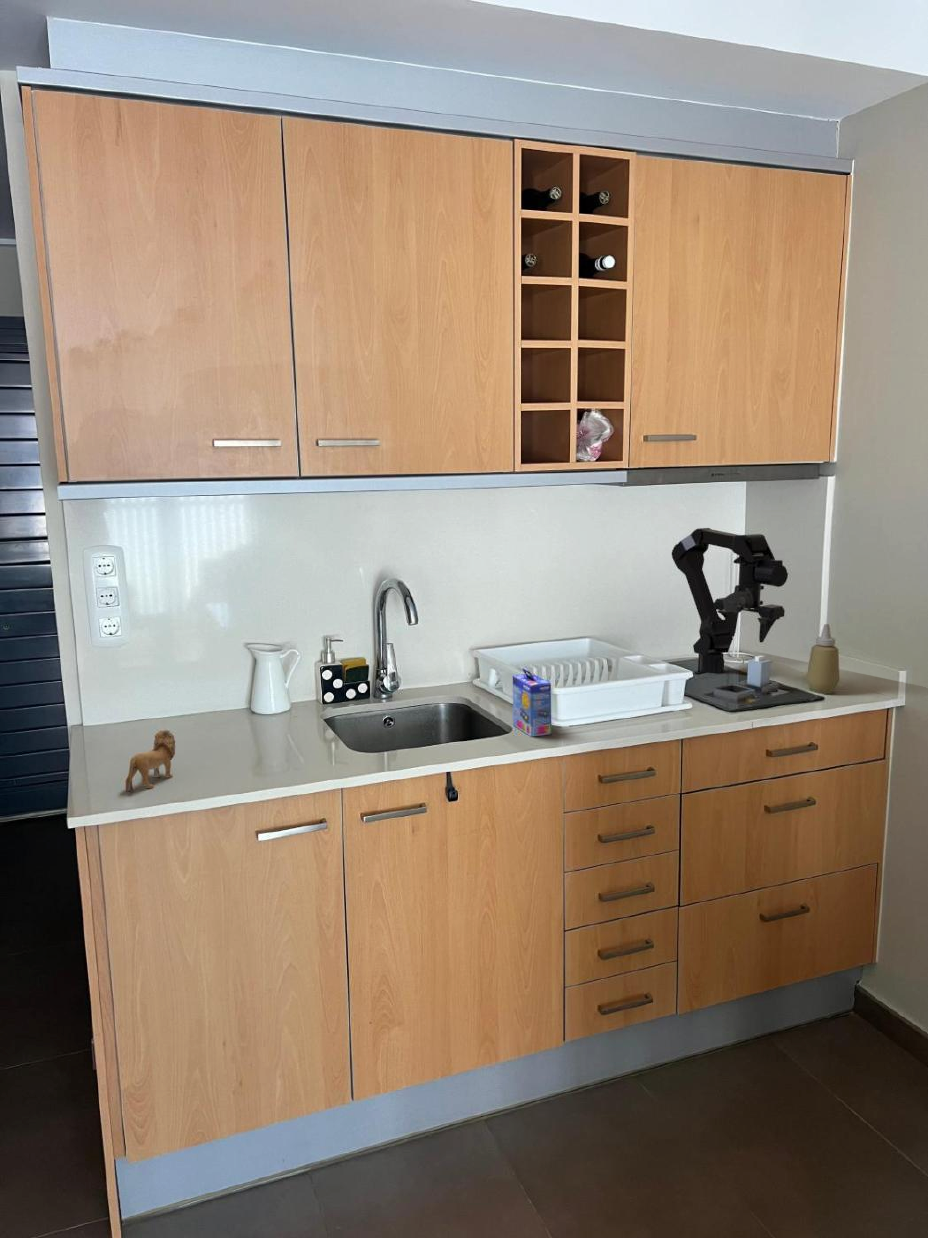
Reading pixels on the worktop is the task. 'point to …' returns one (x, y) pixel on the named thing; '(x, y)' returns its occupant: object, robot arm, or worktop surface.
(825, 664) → the squeeze bottle
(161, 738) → the lion figurine
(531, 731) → the ink cartridge box
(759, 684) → the plug
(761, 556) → the robot arm
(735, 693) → the panel
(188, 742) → the worktop surface
